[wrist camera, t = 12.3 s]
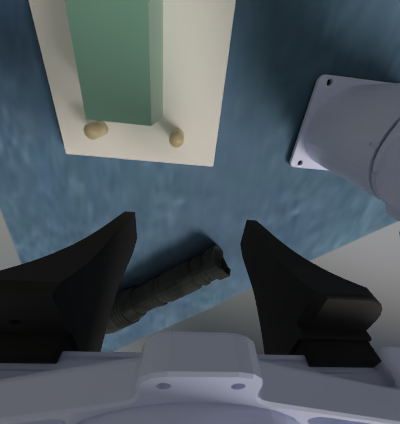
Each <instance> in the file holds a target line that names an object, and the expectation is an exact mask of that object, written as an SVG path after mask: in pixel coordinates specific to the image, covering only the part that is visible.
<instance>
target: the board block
mask: <svg viewBox="0 0 400 424" xmlns="http://www.w3.org/2000/svg"><path fill="white" fill-rule="evenodd" d="M65 5H66V11H67V16H68V22H69V28H70V33H71V39H72V44H73V50H74V55H75V61H76V67H77V72H78V78H79V83H80V89H81V95H82V100H83V106H84V111H85V117H86V119H87V120H97V121H107V122H117V123H127V124H136V125H146V126H152V125H153V124H154V123H156V122H157V121H158V120H160V119H161V118H162V117H163V0H65Z"/></svg>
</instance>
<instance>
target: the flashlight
mask: <svg viewBox="0 0 400 424" xmlns="http://www.w3.org/2000/svg"><path fill="white" fill-rule="evenodd" d="M230 271H231V269H229V268H228V266H227V264H226V262H225V260H224V258H223V251H222V250H221V248H220V247H219V246H217V245H214V246H212V247H211V248H209V249H207V250H206V251H205V253H204V254H203V255H201V256H196V257H194V258H193V259H192V260H191V261H188V260H187V261H185V262H183V263H181V264H180V265H178V266H176V267H174V268H172V269H170V270H168V271H166V272H164V273H162V274H161V275H160V276H159V277H155V278H153V279H151V280H150V281H149V282H148V283H146V284H144V285H142V286H140V287H134V288H127V289H124V290H122V291H120V292H118V293H116V297H115V300H114V303H113V306H112V310H111V313H110V317H109V320H108V324H107V328H106V332H105V334H110V333H114V332H116V331H118V330H121V329H123V328H125V327H127V326H129V325H131V324H133V323H135V322H137V321H139V319H140V318H141V317H143V316H144V315H145V314H146V313H147V311H149V310H152V309H154V308H156V307H158V306H164V305H166V304H167V303H168V302H172V301H175V300H177V299H179V298H181V297H183V296H185V295H187V294H190V293H192V292H194V291H196V290H198V289H200V288H201V287H202V285H205V286H206V285H208V284H210V283H211V281H213V280H215V279H219V280H221V279H224V278H226V277H229V276H230Z"/></svg>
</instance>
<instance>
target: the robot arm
mask: <svg viewBox="0 0 400 424" xmlns="http://www.w3.org/2000/svg"><path fill="white" fill-rule="evenodd" d="M329 79H330V84H329V85H328V86H327V81H328V80H329ZM299 161H301V163H300V164H298V162H299ZM289 164H290V165H291V166H292V167H298V168H309V169H320V170H329V171H331V172H333V173H335V174H336V175H338V176H340V177H342V178H343V179H345V180H347V181H349V182H350V183H352V184H354V185H356V186H357V187H359V188H361V189H363V190H364V191H366V192H368V193H370V194H371V195H373V196H375V197H377V198H379V199H380V200H382V201H383V202H384V203H385V205H386V213H387V214H389V215H390V216H392V217H394V218H395V219H397V220H398V221H400V83H388V82H380V81H373V80H365V79H357V78H350V77H342V76H334V75H321V76H320V77H319V78H318V79H317V81H316V84H315V87H314V90H313V93H312V96H311V99H310V102H309V105H308V108H307V111H306V114H305V117H304V120H303V122H302V125H301V128H300V131H299V134H298V137H297V140H296V143H295V146H294V149H293V152H292V155H291V158H290V161H289ZM136 240H137V232H136V219H135V212H124V213H122V214H121V215H119V216H118V217H117V218H115V219H114V220H112V221H111V222H110V223H108V224H107V225H105V226H104V227H102V228H101V229H99V230H98V231H96V232H95V233H93V234H91V235H90V236H88V237H86V238H85V239H83V240H81V241H79V242H77V243H75V244H73V245H71V246H69V247H67V248H64V249H62V250H60V251H57V252H55V253H53V254H50V255H48V256H45V257H42V258H40V259H37V260H34V261H31V262H28V263H25V264H21V265H18V266H14V267H11V268H8V269H4V270H1V271H0V424H400V347H379V348H375V349H373V348H372V346H371V345H370V343H369V342H368V341H371V337H370V336H369V334H368V333H367V331H366V330H367V329H368V328H369V327H370V326H371V325H372V324H373V323H374V322H375V321H376V320H377V319H378V317H379V316H380V315H381V311H382V306H381V304H380V303H379V301H378V300H377V299H376V298H375V297H374V296H373V295H372V293H371V292H370V291H369V290H368V289H367V288H366V287H363V286H360V285H358V284H356V283H353V282H351V281H348V280H345V279H343V278H341V277H339V276H337V275H335V274H332V273H330V272H328V271H326V270H324V269H322V268H320V267H319V266H317V265H315V264H313V263H311V262H310V261H308V260H306V259H305V258H303V257H302V256H300V255H299V254H297V253H295V252H294V251H293V250H291V249H290V248H289V247H287V246H286V245H285V244H283V243H282V242H281V241H279V240H278V239H277V238H276V237H275V236H273V235H272V234H271V233H270V232H269V231H268V230H267V229H265V228H264V227H263V226H262V225H261V224H260V223H258V222H257V221H255V220H247V221H246V225H245V229H244V233H243V236H242V240H241V251H242V256H243V260H244V263H245V266H246V269H247V272H248V275H249V278H250V282H251V285H252V288H253V291H254V295H255V300H256V305H257V310H258V315H259V321H260V326H261V333H262V339H263V345H264V353H265V355H257V354H256V351H255V346H254V342H253V341H251V340H250V339H248V338H247V337H246V336H244V335H240V334H235V333H211V332H209V333H208V332H173V331H171V332H163V333H157V334H155V335H154V336H151V337H150V338H148V339H147V340H146V342H145V344H144V346H143V349H142V353H135V352H133V353H132V352H101V348H102V343H103V339H104V336H105V332H106V328H107V324H108V320H109V317H110V313H111V310H112V306H113V303H114V300H115V297H116V293H117V290H118V287H119V284H120V282H121V279H122V277H123V275H124V272H125V270H126V268H127V265H128V263H129V261H130V258H131V256H132V254H133V251H134V248H135V244H136Z"/></svg>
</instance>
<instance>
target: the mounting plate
mask: <svg viewBox="0 0 400 424" xmlns="http://www.w3.org/2000/svg"><path fill="white" fill-rule="evenodd" d="M235 3H236V0H163V117H162V118H161V119H160V120H158V121H157V122H156V123H154V124H153V125H152V126H146V125H136V124H127V123H117V122H107V121H97V120H87V119H86V117H85V111H84V106H83V100H82V95H81V89H80V83H79V78H78V72H77V67H76V61H75V55H74V50H73V44H72V39H71V33H70V28H69V22H68V16H67V11H66V5H65V0H29V4H30V8H31V12H32V17H33V21H34V25H35V29H36V33H37V37H38V41H39V45H40V49H41V53H42V57H43V61H44V65H45V69H46V73H47V77H48V82H49V86H50V90H51V94H52V98H53V102H54V106H55V110H56V114H57V118H58V122H59V126H60V130H61V134H62V138H63V142H64V147H65V151H66V154H76V155H87V156H98V157H110V158H121V159H132V160H143V161H155V162H166V163H177V164H189V165H200V166H211V167H213V163H214V156H215V149H216V142H217V134H218V127H219V120H220V112H221V105H222V98H223V90H224V83H225V76H226V68H227V61H228V54H229V46H230V39H231V32H232V25H233V17H234V10H235Z"/></svg>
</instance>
